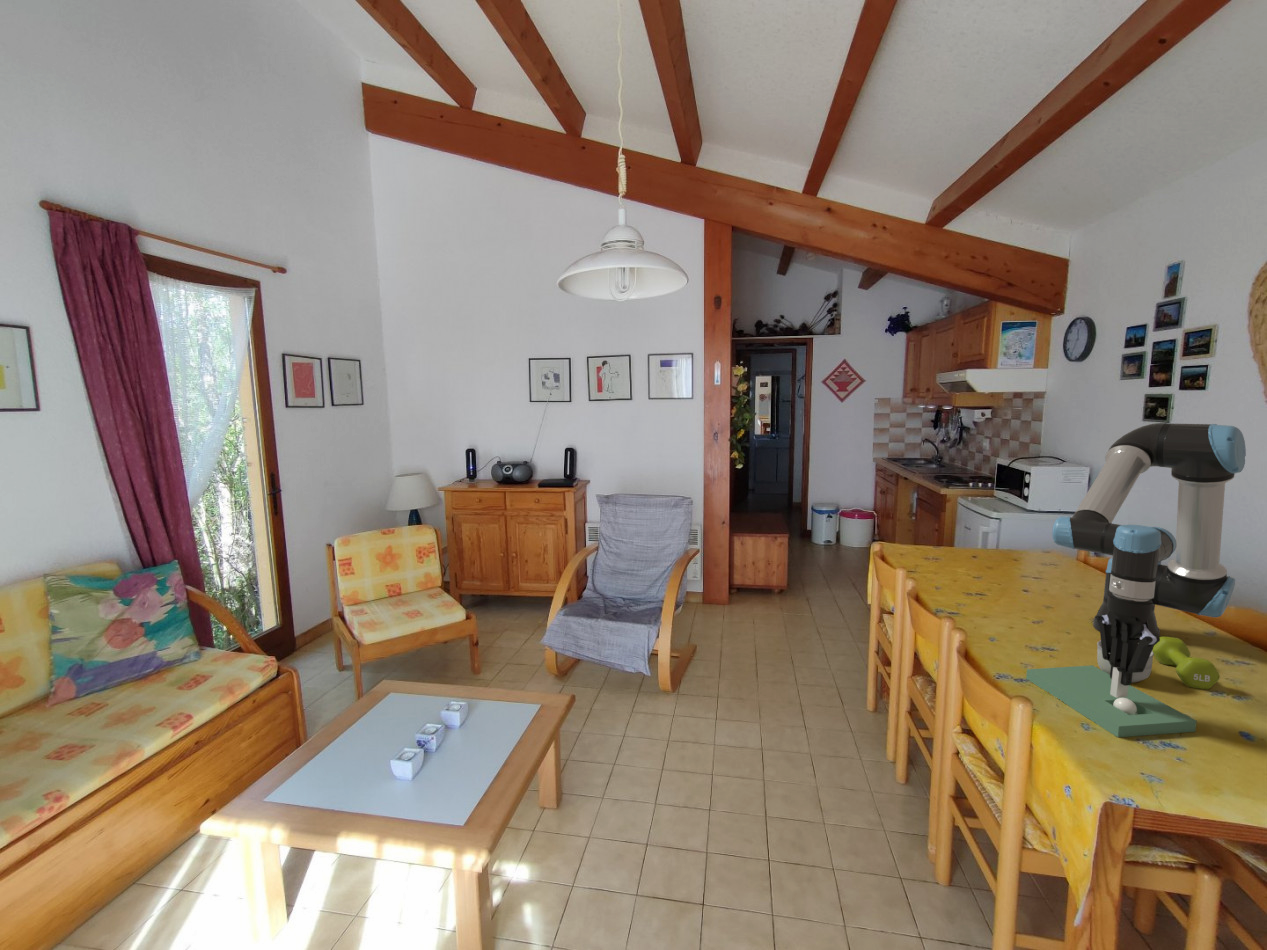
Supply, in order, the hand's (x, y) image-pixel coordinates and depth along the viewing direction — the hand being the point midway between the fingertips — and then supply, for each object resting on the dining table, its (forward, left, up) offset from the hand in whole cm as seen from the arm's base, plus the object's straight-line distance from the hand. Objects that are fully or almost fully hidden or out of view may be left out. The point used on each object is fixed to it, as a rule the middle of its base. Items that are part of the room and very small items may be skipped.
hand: (1118, 695), depth 130 cm
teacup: (-17, -15, -4) cm, 23 cm away
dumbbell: (-32, -13, -4) cm, 35 cm away
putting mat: (0, -3, -4) cm, 5 cm away
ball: (+1, +2, -1) cm, 3 cm away
